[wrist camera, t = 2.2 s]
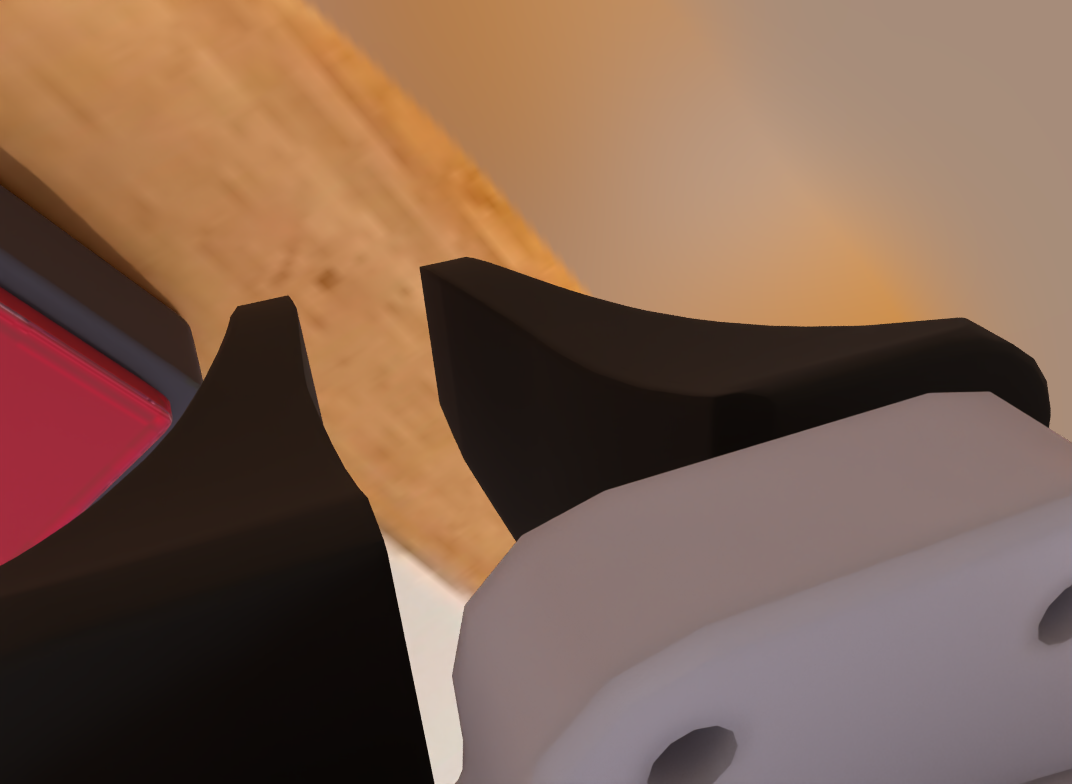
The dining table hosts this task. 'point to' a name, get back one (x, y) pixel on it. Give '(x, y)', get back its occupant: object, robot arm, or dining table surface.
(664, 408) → the robot arm
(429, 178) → the dining table surface
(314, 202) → the dining table surface
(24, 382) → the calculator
